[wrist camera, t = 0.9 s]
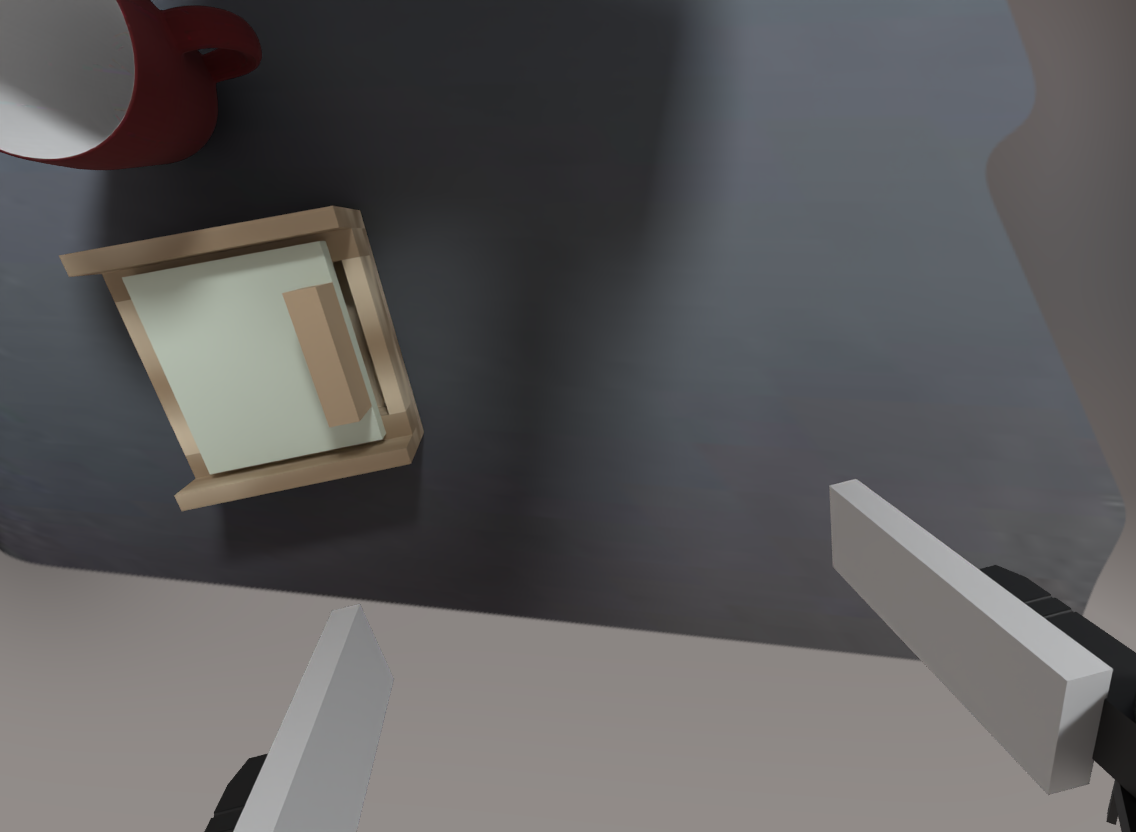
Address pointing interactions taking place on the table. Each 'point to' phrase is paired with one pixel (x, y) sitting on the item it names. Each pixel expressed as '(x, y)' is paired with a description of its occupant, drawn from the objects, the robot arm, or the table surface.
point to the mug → (114, 79)
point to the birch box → (365, 314)
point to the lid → (260, 355)
